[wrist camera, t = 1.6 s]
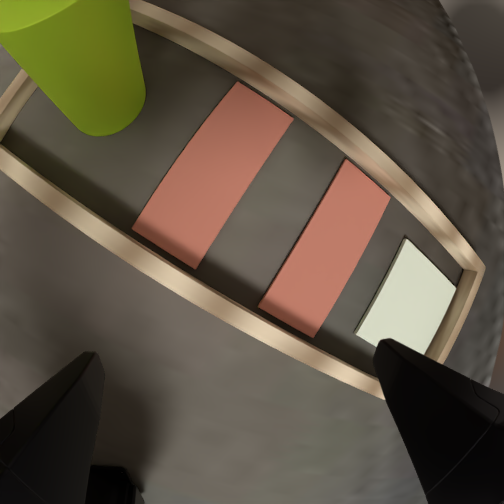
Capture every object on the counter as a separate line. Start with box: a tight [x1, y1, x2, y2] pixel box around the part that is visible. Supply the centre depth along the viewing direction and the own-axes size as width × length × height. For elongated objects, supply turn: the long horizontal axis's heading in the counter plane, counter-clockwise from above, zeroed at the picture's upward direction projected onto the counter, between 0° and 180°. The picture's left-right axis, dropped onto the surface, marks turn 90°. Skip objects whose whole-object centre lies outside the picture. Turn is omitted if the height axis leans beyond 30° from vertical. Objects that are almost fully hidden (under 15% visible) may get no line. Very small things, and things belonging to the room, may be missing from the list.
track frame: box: [0, 0, 486, 400], centre depth 20 cm, size 44×16×2 cm, turn 57°
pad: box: [354, 239, 456, 355], centre depth 24 cm, size 9×9×1 cm
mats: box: [132, 81, 391, 338], centre depth 21 cm, size 15×13×1 cm
